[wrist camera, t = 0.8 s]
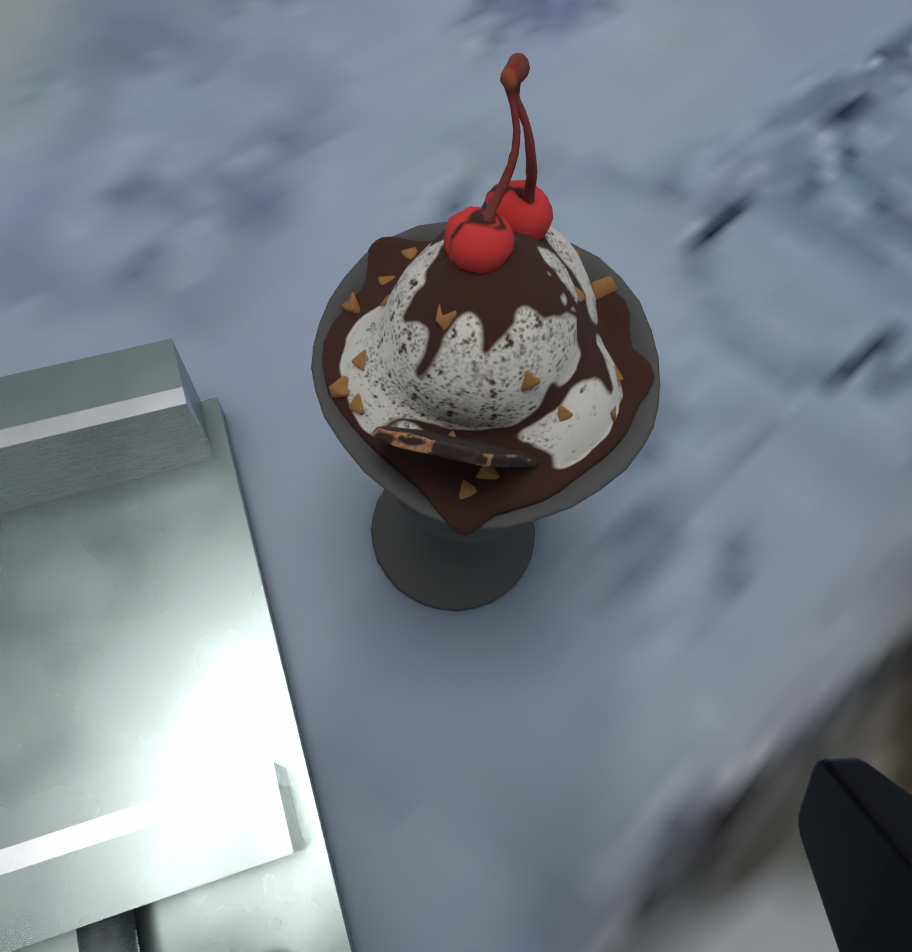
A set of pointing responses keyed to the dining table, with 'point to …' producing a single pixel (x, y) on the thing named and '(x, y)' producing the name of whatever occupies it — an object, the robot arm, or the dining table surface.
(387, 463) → the sundae
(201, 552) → the vise
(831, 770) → the robot arm
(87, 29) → the dining table surface
